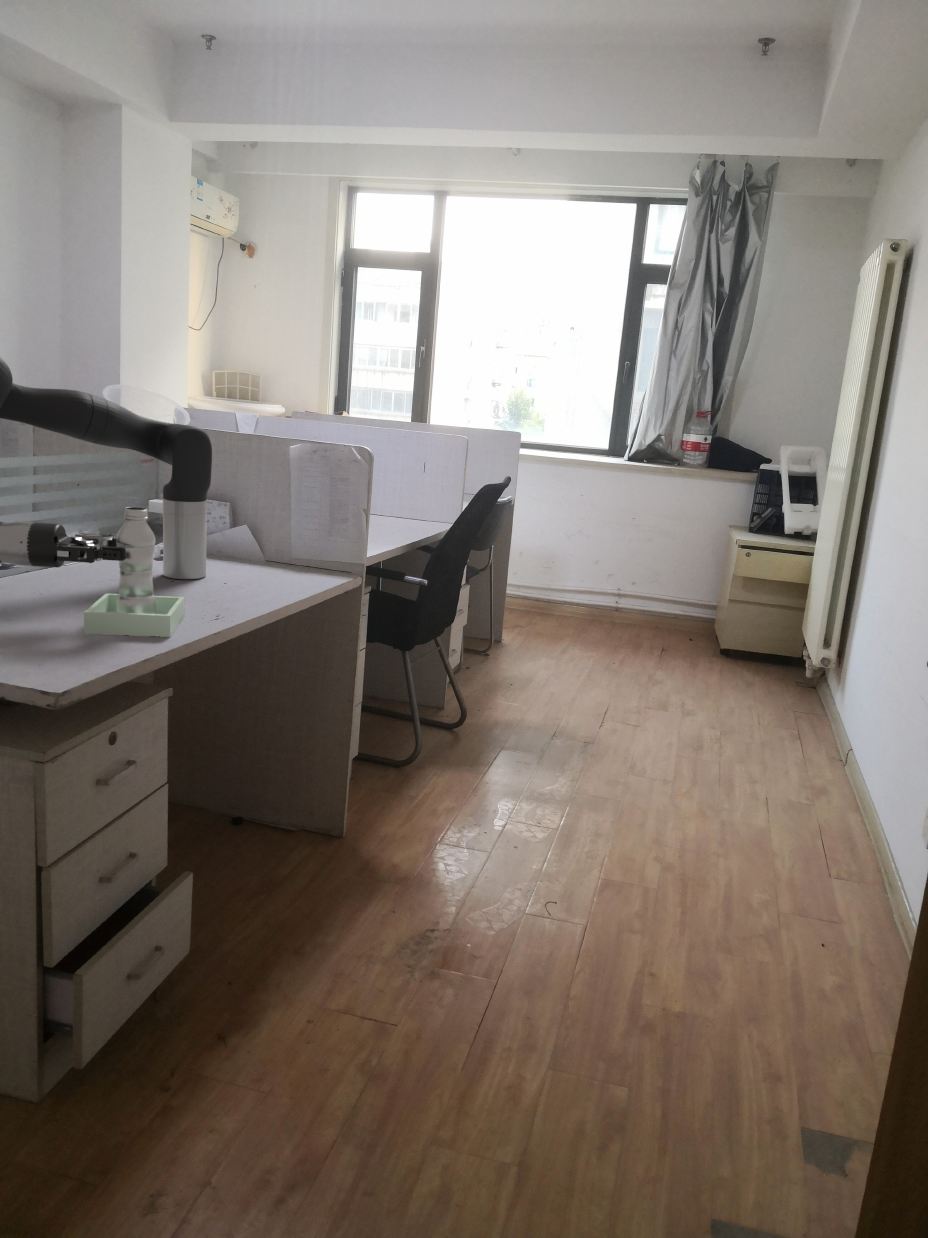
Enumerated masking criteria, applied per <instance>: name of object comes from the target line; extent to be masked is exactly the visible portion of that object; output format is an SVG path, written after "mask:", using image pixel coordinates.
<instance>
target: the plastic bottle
mask: <svg viewBox="0 0 928 1238" xmlns="http://www.w3.org/2000/svg"><path fill="white" fill-rule="evenodd" d="M123 519H124V520H125V522H124V523H123V525H121V527H120V528H119V529H118V531H117V532H116V533H117V534H116V537H115V538H116V544H117V547H123V548H125V549H126V559H125V560H124V561H118V566H119V582H118V586H119V587H118V593H117V594H118V598H117V604H116V608H117V612H119V613H142V614H155V609H156V602H155V596H156V595H155V594H154V592H155V591H154V584H153V583H154V582H153V566H154V556H155V549H156V536H155V533H154V531H153V530H152V529H151V527H150V525H149V524H148V523H147V520H148V519H149V516H148V508H147V507H143V506H142V507H141V506H127V507H125V508H124V516H123Z"/></svg>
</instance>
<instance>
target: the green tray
mask: <svg viewBox="0 0 928 1238" xmlns="http://www.w3.org/2000/svg"><path fill="white" fill-rule="evenodd" d="M118 594H119V593H107V592H106V593H104V594H103V595H102V596H101V597H100V598H99V599H97V600H96V601H95V602H93V604H92V605H91V606H89V607H88V608H87V609H86V610H85V611H83V623H84V624H83V629H84V635H99V634H100V635H99V636H101V635H105V636H107V635H108V636H124V635H129V636H130V637H149V636H156V637H155V638H171V637H172V635H173V634H174V633H175V631H176V630H177V629H176V628H178V627H179V626H178V625H181V623H182V621H183V620H184V618H185V614H186V613H185V612H186V611H185V610H186V609H185V603H186V602H185V598H186V597H185V596H167V595H154V596H155V602H156V609H155V614H142V613H119V612H117V608H116V604H117V598H118ZM129 636H128V637H129ZM157 636H158V637H157ZM159 636H160V637H159Z"/></svg>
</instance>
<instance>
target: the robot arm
mask: <svg viewBox="0 0 928 1238" xmlns="http://www.w3.org/2000/svg"><path fill="white" fill-rule="evenodd" d="M13 379H14V378H13V374H12V371H11V369H10V366H9V365H8V363H7V362H6V361H5V360H4V359H3V358H1V357H0V419H2V420H8V421H13V422H19V423H22V424H26V425H29V426H33V427H35V428H39V429H43V430H46V431H49V432H53V433H58V434H61V435H65V436H68V437H70V438H73V439H76V440H79V441H80V440H81V441H85V442H88V443H91V444H95V445H100V446H105V447H110V448H117V449H126V450H132V451H136V452H139V453H142V454H144V455H147V456H149V457H151V458H154V459H157V460H159V461H161V462H163V463H165V464H168V465H171V467H172V468H171V478H170V479H169V482H168V483H166V484H165V485H163V487H162V540H163V541H162V551H163V552H162V554H163V555H162V564H163V565H162V566H163V567H162V570H163V571H162V572H163V576H164V577H166V578H169V579H177V580H195V579H202V578H205V577H206V576H207V530H208V529H207V525H208V523H207V522H208V521H207V519H208V516H207V513H208V512H207V510H208V509H207V503H208V500H207V498H208V492H209V490H210V488H211V483H212V481H211V480H212V470H213V469H212V468H213V467H212V465H213V447H212V442H211V439H210V436H209V435H208V433H207V432H206V431H205V430H204V429H202V428H200V427H198V426H194V425H187V424H180V423H174V422H173V423H170V422H165V421H159V420H155V419H151V418H147V417H144V416H141V415H138V414H136V413H134V412H133V411H131V410H129V409H128V408H126V407H123V406H121V405H119V404H117V403H116V402H114V401H111V400H108V399H107V398H106V399H105V398H103V397H99V396H98V395H94V394H91V393H88V392H84V391H81V390H75V389H66V388H64V389H63V388H42V387H40V388H39V387H29V386H25V385H24V386H23V385H19V384H16V383H14V382H13ZM105 541H106V544H104V542H105ZM125 559H126V549H125V548H123V547H117V544H116V537H115V535H114V534H112V533H109V534H105V533H103V534H102V533H100V534H99V533H87V532H86V533H84V532H80V533H79V532H78V533H75V534H74V535H72V536H68V535H67V531H66V529H65V527H64V526H63V525H62V524H60V523H51V522H50V523H49V522H38V521H37V522H36V521H35V522H33V521H0V564H6V565H7V564H9V565H13V566H22V567H23V566H24V567H25V566H26V567H40V568H43V567H45V568H60V567H62V566H63V565H64V563H65V562H73V563H86V564H93V563H94V564H95V562H101V561H102V560H103V561H114V562H115V561H118V562H119V561H124V560H125Z"/></svg>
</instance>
